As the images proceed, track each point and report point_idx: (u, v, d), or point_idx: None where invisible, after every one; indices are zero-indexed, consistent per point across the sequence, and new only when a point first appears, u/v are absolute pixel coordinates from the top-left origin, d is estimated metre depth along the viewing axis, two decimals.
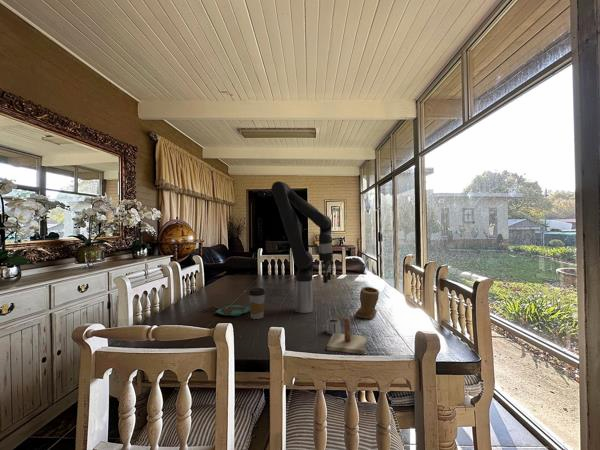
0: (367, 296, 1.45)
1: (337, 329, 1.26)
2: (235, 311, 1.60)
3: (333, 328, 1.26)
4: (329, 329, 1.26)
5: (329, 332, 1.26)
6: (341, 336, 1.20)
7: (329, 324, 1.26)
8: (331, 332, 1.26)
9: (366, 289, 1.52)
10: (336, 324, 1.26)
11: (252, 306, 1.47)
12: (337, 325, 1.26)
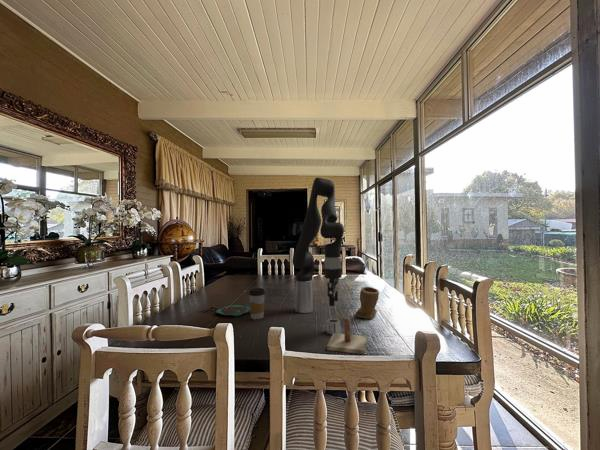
0: (367, 296, 1.45)
1: (337, 329, 1.26)
2: (235, 311, 1.60)
3: (333, 328, 1.26)
4: (329, 329, 1.26)
5: (329, 332, 1.26)
6: (341, 336, 1.20)
7: (329, 324, 1.26)
8: (331, 332, 1.26)
9: (366, 289, 1.52)
10: (336, 324, 1.26)
11: (252, 306, 1.47)
12: (337, 325, 1.26)
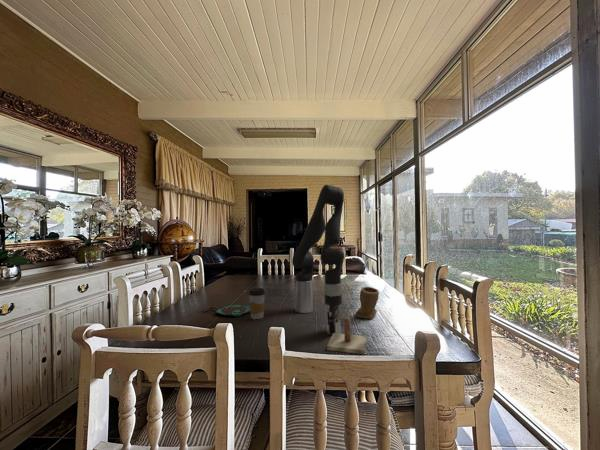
0: (367, 296, 1.45)
1: (337, 329, 1.26)
2: (236, 311, 1.60)
3: None
4: (329, 329, 1.26)
5: (329, 332, 1.26)
6: (341, 336, 1.20)
7: None
8: None
9: (366, 289, 1.52)
10: (336, 324, 1.26)
11: (252, 306, 1.47)
12: (337, 325, 1.26)
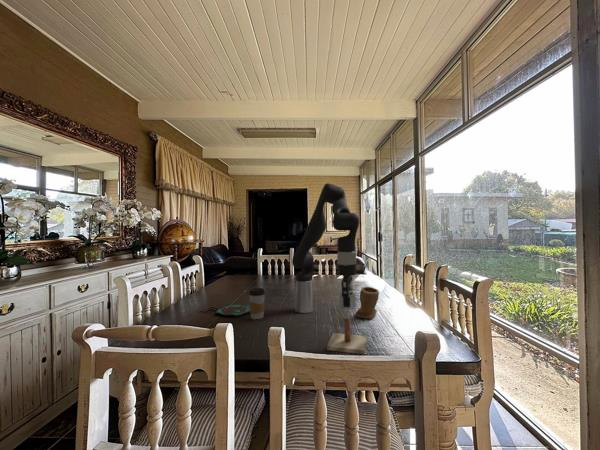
0: (367, 296, 1.45)
1: (352, 302, 1.12)
2: None
3: None
4: (343, 302, 1.13)
5: (343, 306, 1.13)
6: (341, 336, 1.20)
7: None
8: None
9: (366, 289, 1.52)
10: (351, 296, 1.12)
11: (252, 306, 1.47)
12: (352, 298, 1.12)
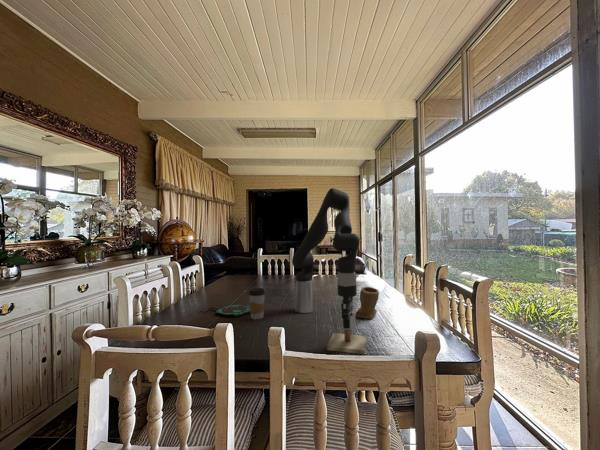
0: (367, 296, 1.45)
1: (352, 323, 1.12)
2: (236, 311, 1.60)
3: None
4: None
5: (343, 327, 1.13)
6: (341, 336, 1.20)
7: None
8: None
9: (366, 289, 1.52)
10: (351, 318, 1.12)
11: (252, 306, 1.47)
12: (352, 319, 1.12)
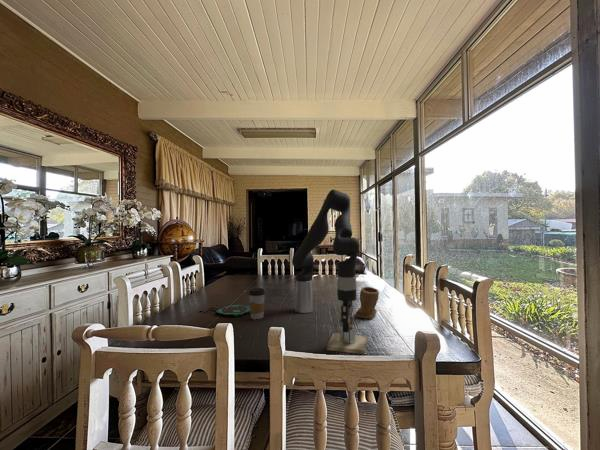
0: (367, 296, 1.45)
1: (352, 337, 1.12)
2: (236, 311, 1.60)
3: (347, 337, 1.12)
4: (343, 337, 1.13)
5: (343, 341, 1.13)
6: None
7: (343, 332, 1.13)
8: (345, 341, 1.12)
9: (366, 289, 1.52)
10: (351, 332, 1.12)
11: (252, 306, 1.47)
12: (352, 333, 1.12)
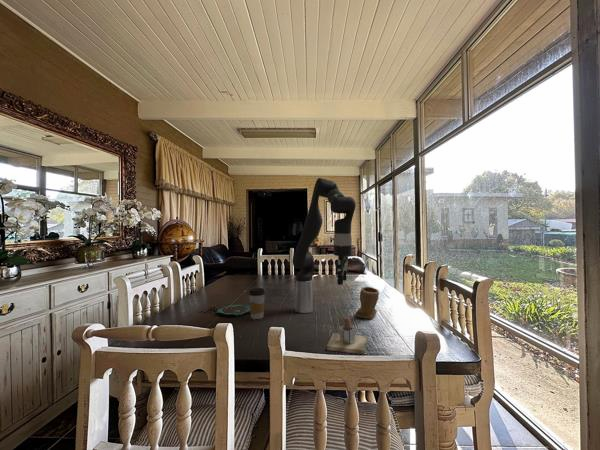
0: (367, 296, 1.45)
1: (352, 337, 1.12)
2: (237, 311, 1.60)
3: (347, 337, 1.12)
4: (343, 337, 1.13)
5: (343, 341, 1.13)
6: None
7: (343, 332, 1.13)
8: (345, 341, 1.12)
9: (366, 289, 1.52)
10: (351, 332, 1.12)
11: (252, 306, 1.47)
12: (352, 333, 1.12)
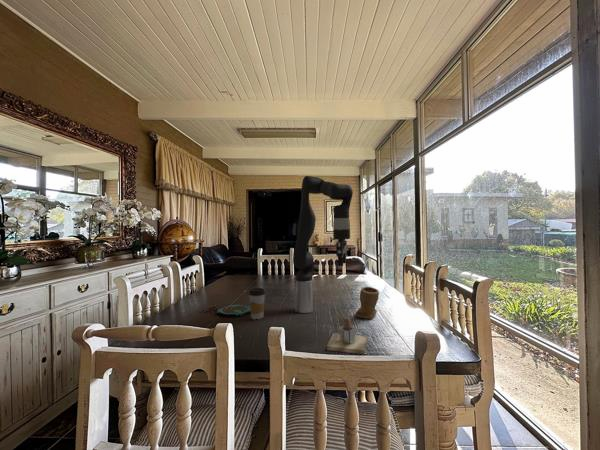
0: (367, 296, 1.45)
1: (352, 337, 1.12)
2: (237, 310, 1.61)
3: (347, 337, 1.12)
4: (343, 337, 1.13)
5: (343, 341, 1.13)
6: None
7: (343, 332, 1.13)
8: (345, 341, 1.12)
9: (366, 289, 1.52)
10: (351, 332, 1.12)
11: (252, 306, 1.47)
12: (352, 333, 1.12)
